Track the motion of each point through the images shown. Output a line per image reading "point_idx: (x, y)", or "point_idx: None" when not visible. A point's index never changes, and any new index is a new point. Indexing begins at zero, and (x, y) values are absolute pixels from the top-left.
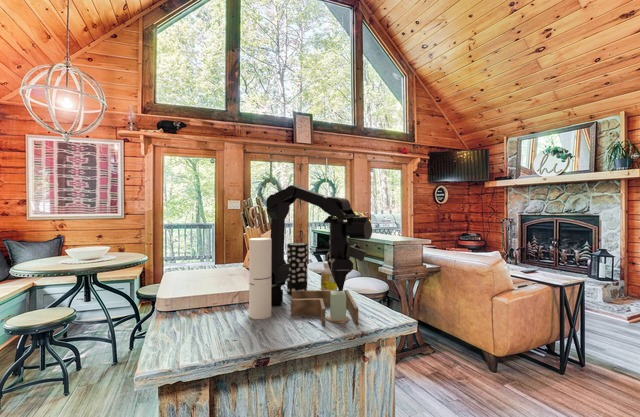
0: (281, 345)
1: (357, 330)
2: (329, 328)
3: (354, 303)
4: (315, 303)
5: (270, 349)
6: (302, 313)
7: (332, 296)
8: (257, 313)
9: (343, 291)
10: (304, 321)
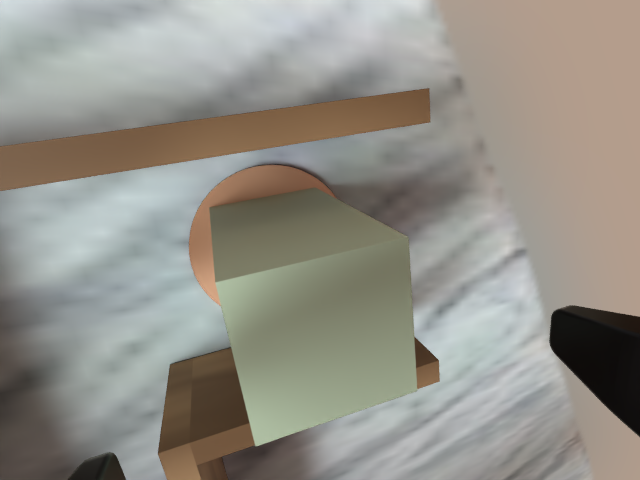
0: (559, 414)
1: (449, 111)
2: (420, 276)
3: (284, 121)
4: (204, 464)
5: (579, 433)
6: (224, 474)
7: (410, 375)
8: None
9: (246, 288)
10: (329, 421)
